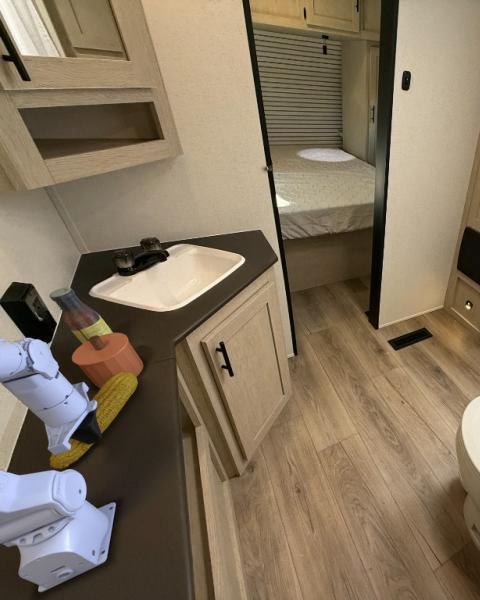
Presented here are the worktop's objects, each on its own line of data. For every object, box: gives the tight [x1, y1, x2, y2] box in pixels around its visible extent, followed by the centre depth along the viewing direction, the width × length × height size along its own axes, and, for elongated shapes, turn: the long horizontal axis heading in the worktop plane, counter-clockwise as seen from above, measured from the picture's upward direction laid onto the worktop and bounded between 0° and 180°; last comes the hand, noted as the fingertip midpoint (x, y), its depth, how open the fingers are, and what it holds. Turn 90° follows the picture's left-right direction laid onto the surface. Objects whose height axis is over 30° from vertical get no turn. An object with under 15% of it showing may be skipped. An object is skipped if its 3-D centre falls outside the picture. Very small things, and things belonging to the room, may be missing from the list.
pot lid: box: [71, 332, 130, 366], centre depth 74 cm, size 10×10×4 cm
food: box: [49, 372, 139, 470], centre depth 67 cm, size 21×6×6 cm, turn 3°
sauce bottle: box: [49, 286, 114, 345], centre depth 80 cm, size 6×6×20 cm
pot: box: [77, 341, 144, 389], centre depth 77 cm, size 10×10×8 cm
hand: (95, 440), depth 62 cm, fingers closed
